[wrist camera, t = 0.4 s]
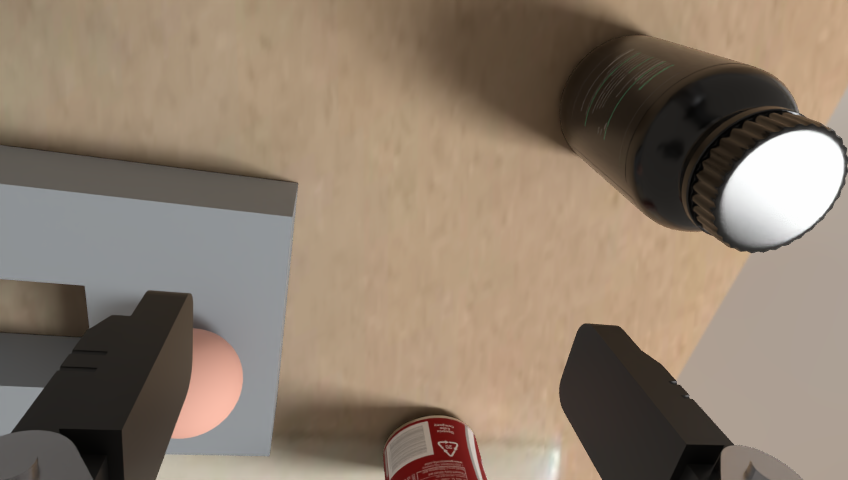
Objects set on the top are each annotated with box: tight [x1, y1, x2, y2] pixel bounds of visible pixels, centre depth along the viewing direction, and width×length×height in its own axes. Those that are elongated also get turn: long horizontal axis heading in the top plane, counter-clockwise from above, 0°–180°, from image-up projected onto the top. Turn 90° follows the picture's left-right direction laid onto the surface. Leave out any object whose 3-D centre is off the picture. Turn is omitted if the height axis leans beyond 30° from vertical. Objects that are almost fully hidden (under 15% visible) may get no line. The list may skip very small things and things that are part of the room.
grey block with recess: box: [0, 145, 298, 456], centre depth 28 cm, size 16×17×4 cm
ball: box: [171, 328, 243, 439], centre depth 25 cm, size 5×5×5 cm
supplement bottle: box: [560, 35, 848, 253], centre depth 23 cm, size 7×7×12 cm
